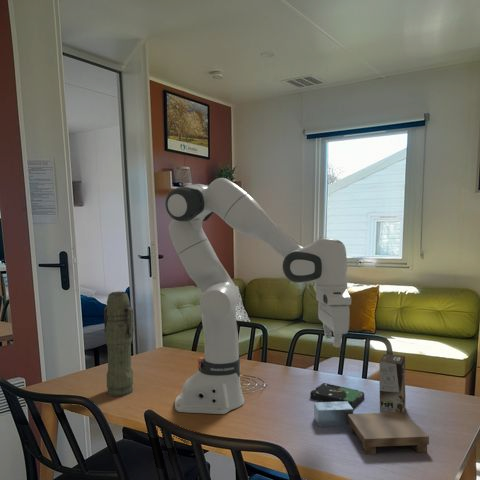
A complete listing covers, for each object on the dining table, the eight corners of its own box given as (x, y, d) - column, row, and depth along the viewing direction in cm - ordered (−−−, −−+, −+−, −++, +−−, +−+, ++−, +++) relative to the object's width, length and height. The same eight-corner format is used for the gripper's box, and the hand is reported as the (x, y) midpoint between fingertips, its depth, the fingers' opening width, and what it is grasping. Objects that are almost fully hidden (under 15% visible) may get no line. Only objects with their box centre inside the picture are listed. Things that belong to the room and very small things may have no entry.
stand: (365, 455, 102) (365, 438, 102) (347, 428, 116) (347, 414, 116) (429, 452, 102) (428, 436, 102) (404, 426, 116) (404, 412, 116)
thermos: (113, 385, 152) (111, 290, 151) (141, 388, 148) (139, 291, 147) (97, 394, 143) (95, 293, 143) (127, 398, 139) (124, 294, 139)
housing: (318, 428, 117) (318, 410, 116) (314, 419, 122) (313, 402, 122) (353, 426, 117) (353, 409, 117) (347, 418, 122) (347, 401, 122)
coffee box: (402, 419, 121) (401, 364, 120) (379, 414, 124) (378, 361, 124) (406, 407, 129) (405, 355, 128) (384, 403, 132) (384, 353, 132)
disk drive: (310, 400, 137) (353, 410, 128) (309, 392, 137) (353, 401, 128) (323, 390, 145) (365, 399, 136) (323, 382, 145) (364, 390, 136)
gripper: (312, 289, 129) (313, 333, 129) (329, 300, 109) (330, 352, 109) (332, 289, 129) (333, 333, 130) (353, 299, 109) (354, 351, 109)
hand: (332, 342), depth 119 cm, fingers open, 8 cm apart
